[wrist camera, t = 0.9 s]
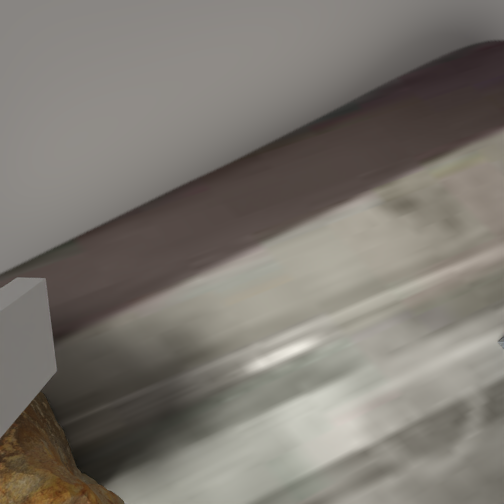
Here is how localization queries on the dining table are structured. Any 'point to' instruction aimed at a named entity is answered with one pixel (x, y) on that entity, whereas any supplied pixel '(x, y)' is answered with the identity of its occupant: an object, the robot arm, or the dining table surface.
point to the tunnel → (501, 342)
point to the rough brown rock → (44, 463)
